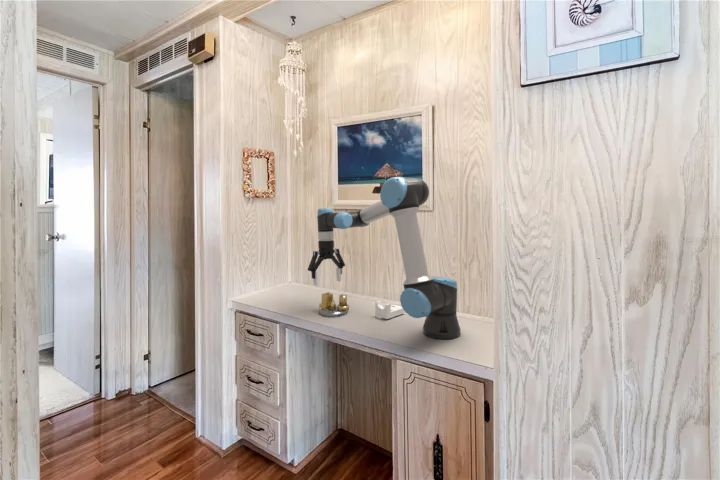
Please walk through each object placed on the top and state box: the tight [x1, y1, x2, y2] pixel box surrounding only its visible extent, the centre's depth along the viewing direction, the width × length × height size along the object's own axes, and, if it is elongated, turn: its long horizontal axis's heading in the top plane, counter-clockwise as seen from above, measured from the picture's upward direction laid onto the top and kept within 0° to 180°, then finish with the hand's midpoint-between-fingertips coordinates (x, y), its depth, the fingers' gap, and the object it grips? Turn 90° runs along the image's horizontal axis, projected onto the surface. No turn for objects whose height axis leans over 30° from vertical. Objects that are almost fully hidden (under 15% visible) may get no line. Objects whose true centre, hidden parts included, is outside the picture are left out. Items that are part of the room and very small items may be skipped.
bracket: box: [374, 300, 406, 320], centre depth 175 cm, size 13×7×8 cm, turn 134°
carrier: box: [319, 293, 350, 318], centre depth 180 cm, size 13×14×9 cm
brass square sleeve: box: [318, 292, 337, 310], centre depth 184 cm, size 6×6×7 cm
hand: (327, 283), depth 182 cm, fingers open, 13 cm apart
